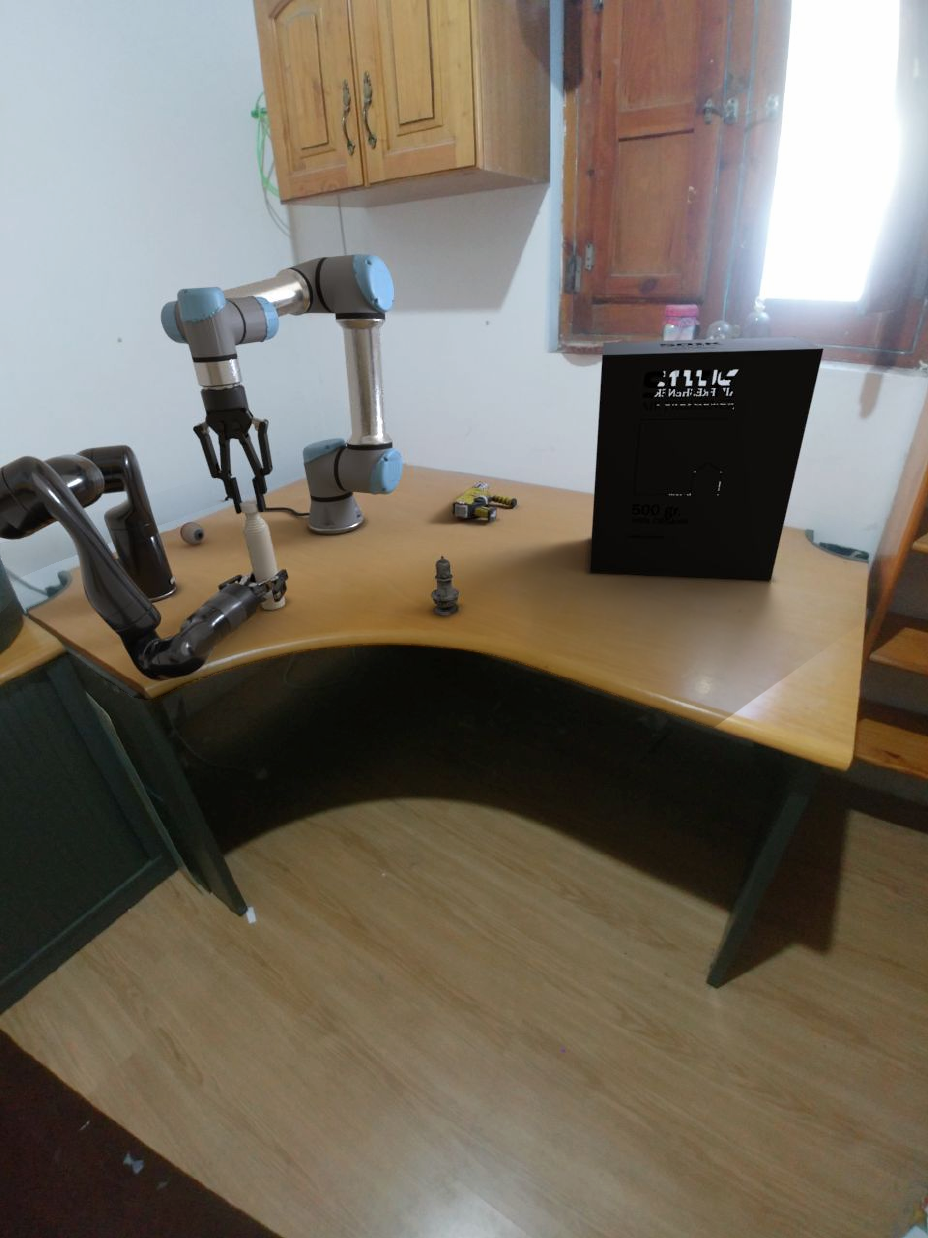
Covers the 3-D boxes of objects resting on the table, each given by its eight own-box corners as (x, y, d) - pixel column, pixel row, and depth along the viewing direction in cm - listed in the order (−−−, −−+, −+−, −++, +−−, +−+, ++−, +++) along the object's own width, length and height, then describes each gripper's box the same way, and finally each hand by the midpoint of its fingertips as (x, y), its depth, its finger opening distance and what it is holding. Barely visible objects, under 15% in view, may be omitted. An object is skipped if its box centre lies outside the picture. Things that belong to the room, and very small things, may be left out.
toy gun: (525, 486, 181) (478, 479, 184) (503, 510, 160) (450, 501, 164) (523, 501, 183) (477, 494, 187) (501, 526, 163) (450, 518, 167)
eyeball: (193, 549, 159) (187, 528, 156) (179, 545, 162) (172, 524, 159) (212, 541, 163) (206, 520, 160) (198, 538, 166) (191, 517, 163)
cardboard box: (751, 542, 144) (793, 336, 122) (770, 580, 127) (823, 348, 105) (591, 537, 152) (603, 342, 130) (589, 572, 135) (602, 354, 112)
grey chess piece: (457, 617, 121) (453, 562, 115) (428, 615, 122) (423, 561, 116) (463, 603, 126) (459, 550, 120) (435, 601, 127) (431, 549, 121)
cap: (240, 514, 117) (238, 507, 117) (242, 508, 121) (240, 500, 120) (260, 512, 118) (258, 504, 117) (261, 505, 121) (260, 498, 120)
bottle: (272, 612, 127) (248, 512, 116) (257, 606, 129) (232, 508, 118) (290, 602, 130) (268, 504, 119) (274, 597, 133) (252, 500, 122)
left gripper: (256, 596, 111) (300, 558, 125) (190, 590, 115) (240, 554, 129) (265, 630, 115) (307, 590, 129) (200, 624, 118) (248, 585, 133)
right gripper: (273, 379, 111) (297, 501, 123) (181, 385, 111) (214, 507, 122) (264, 386, 105) (290, 514, 116) (166, 392, 104) (202, 520, 116)
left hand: (273, 572), depth 129 cm, fingers closed on bottle, 5 cm apart
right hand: (251, 510), depth 119 cm, fingers closed on cap, 4 cm apart
